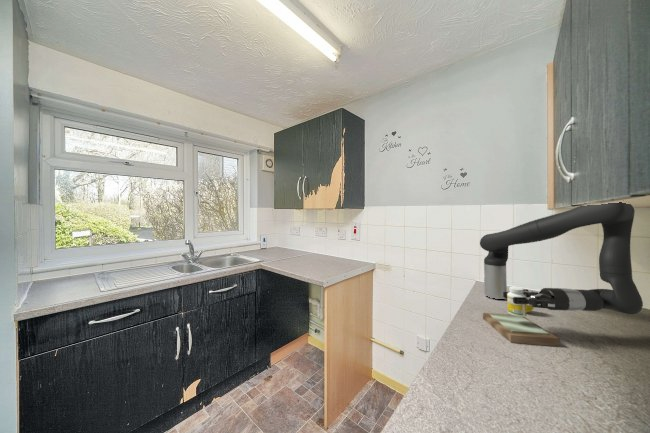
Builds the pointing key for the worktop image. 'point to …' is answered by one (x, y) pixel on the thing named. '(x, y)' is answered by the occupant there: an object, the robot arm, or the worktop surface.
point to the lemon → (529, 308)
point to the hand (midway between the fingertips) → (508, 297)
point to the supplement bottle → (512, 307)
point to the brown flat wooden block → (520, 329)
